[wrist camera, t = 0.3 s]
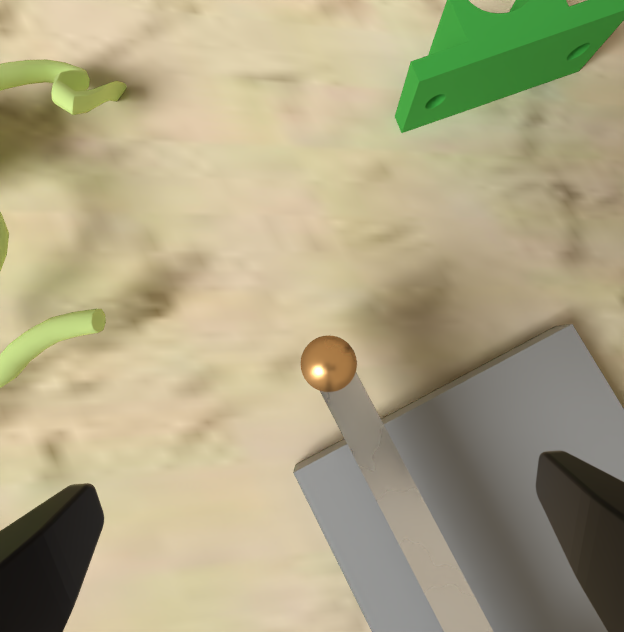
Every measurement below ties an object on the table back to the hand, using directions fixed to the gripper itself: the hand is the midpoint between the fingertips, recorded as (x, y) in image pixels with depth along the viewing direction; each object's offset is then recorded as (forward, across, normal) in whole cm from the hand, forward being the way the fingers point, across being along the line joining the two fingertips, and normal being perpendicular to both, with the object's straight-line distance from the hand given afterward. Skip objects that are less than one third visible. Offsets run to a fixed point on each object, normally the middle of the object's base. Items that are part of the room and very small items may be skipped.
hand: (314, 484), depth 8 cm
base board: (+9, -9, +13) cm, 19 cm away
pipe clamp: (+21, -11, -10) cm, 26 cm away
